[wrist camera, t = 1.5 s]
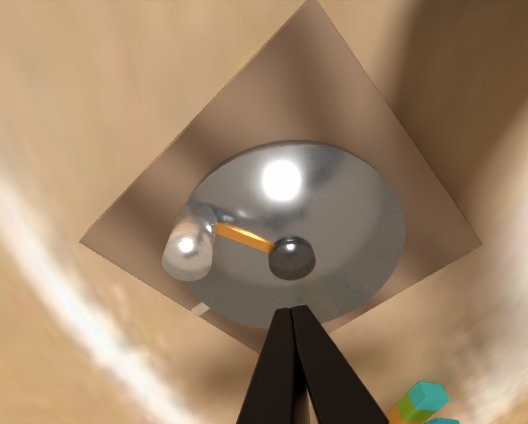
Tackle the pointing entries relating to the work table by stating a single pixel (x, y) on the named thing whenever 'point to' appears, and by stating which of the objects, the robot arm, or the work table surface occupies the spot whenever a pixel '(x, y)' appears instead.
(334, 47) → the base plate
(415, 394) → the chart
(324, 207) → the capstan dial
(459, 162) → the work table surface
